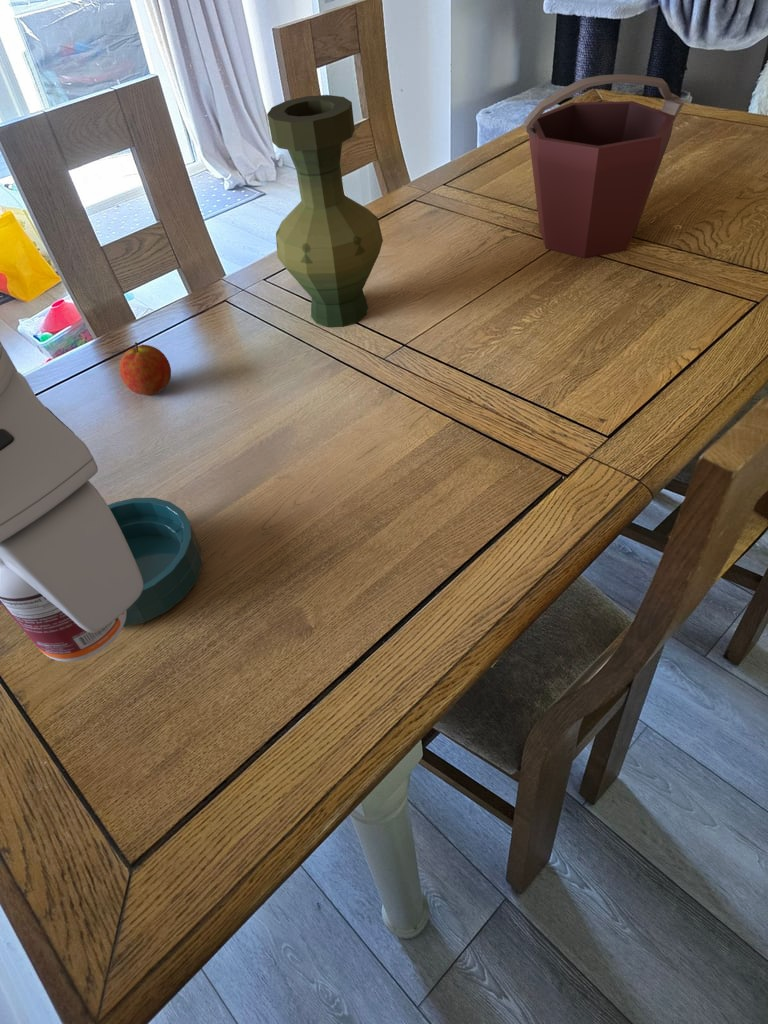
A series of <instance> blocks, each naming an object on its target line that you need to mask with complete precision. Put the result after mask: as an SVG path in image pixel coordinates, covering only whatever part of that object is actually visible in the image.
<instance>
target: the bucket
mask: <svg viewBox="0 0 768 1024" xmlns="http://www.w3.org/2000/svg"><path fill="white" fill-rule="evenodd" d="M619 83H622V84H625V83H626V84H637V85H644V86H650V87H655V88H657V89H658V91H659V93H660V95H661V96H662V97H663V99H664V102H663V106H662V108H660V109H657V108H654V107H651V106H649V105H645V104H642V103H640V102H637V101H634V100H626V101H625V100H624V101H623V100H622V101H619V100H617V101H585V102H584V101H581V102H579V101H578V102H570V103H567V104H565V105H562V106H559V107H557V108H554V109H551V110H549V109H550V108H553V107H555V106H556V105H557V104H559V103H561V102H562V101H564V100H566V99H568V98H569V97H572V96H573V95H576V94H578V93H580V92H581V91H584V90H586V89H588V88H593V87H596V86H601V85H609V84H610V85H611V84H619ZM684 105H685V103H684V101H683V100H682V98H681V97H680V96H678V95H676V94H675V93H673V92H672V91H671V90H670V88H669V84H668V83H667V82H666V81H665V79H663V78H661V77H654V76H648V75H640V74H626V73H623V74H622V73H613V74H603V75H601V74H600V75H595V76H589V77H583V78H581V79H579V80H577V81H574V82H573V83H570V84H569V85H566V86H564V87H563V88H561V89H560V90H557V91H556V92H554V93H553V94H551V95H550V96H547V97H546V98H544V99H543V100H541V101H539V102H538V103H537V104H536V106H534V107H533V109H532V110H531V111H530V113H529V114H528V115H527V116H526V118H525V119H524V120H523V124H524V129H525V131H526V133H527V134H528V141H529V150H530V158H531V159H530V160H531V167H532V176H533V183H534V184H533V185H534V192H535V194H534V195H535V200H536V210H537V219H538V227H539V232H540V236H541V238H542V241H543V244H544V247H545V249H546V250H550V251H555V252H559V253H563V254H566V255H570V256H574V257H580V258H583V259H588V258H593V257H597V256H603V255H608V254H613V253H619V252H623V251H624V252H625V251H626V250H627V249H628V247H629V246H630V244H631V241H632V239H633V238H634V235H635V233H636V231H637V228H638V226H639V224H640V221H641V218H642V215H643V212H644V210H645V207H646V205H647V202H648V199H649V196H650V193H651V191H652V188H653V185H654V183H655V179H656V177H657V175H658V172H659V169H660V167H661V164H662V161H663V159H664V155H665V154H666V150H667V147H668V145H669V142H670V140H671V137H672V132H673V127H674V122H675V120H676V118H677V117H678V115H679V114H680V112H681V110H682V109H683V106H684ZM547 110H548V111H547ZM545 111H546V112H545Z"/></svg>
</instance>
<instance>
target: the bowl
mask: <svg viewBox="0 0 768 1024" xmlns="http://www.w3.org/2000/svg"><path fill="white" fill-rule="evenodd" d="M107 505H108V507H109V508H110V510H111V512H112V514H113V515H114V517H115V519H116V521H117V523H118V525H119V527H120V529H121V531H122V533H123V535H124V537H125V539H126V541H127V544H128V546H129V548H130V550H131V552H132V554H133V557H134V559H135V561H136V563H137V566H138V568H139V570H140V573H141V575H142V579H143V590H142V593H141V595H140V596H139V598H138V599H137V600H136V601H135V602H134V603H133V604H132V605H131V606H130V607H129V608H128V609H127V610H126V612H127V613H126V620H125V623H124V625H123V628H127V627H131V626H134V625H139V624H143V623H146V622H148V621H151V620H153V619H155V618H157V617H160V616H161V615H163V614H165V613H166V612H169V610H171V609H172V608H173V607H175V606H176V605H177V604H179V603H180V602H181V601H182V600H183V599H184V598H185V597H187V595H188V593H189V592H190V591H191V589H192V588H193V587H194V586H195V584H196V583H197V581H198V579H199V575H200V573H201V570H202V567H203V550H202V547H201V545H200V543H199V542H200V541H199V540H198V538H197V535H196V532H195V530H194V528H193V526H192V523H191V521H190V519H189V518H188V516H187V514H186V513H185V511H184V510H183V509H182V508H180V507H179V506H177V505H176V504H174V503H173V502H172V501H168V500H166V499H161V498H157V497H132V498H128V499H124V500H118V501H114V502H112V503H109V504H107Z"/></svg>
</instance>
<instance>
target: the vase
mask: <svg viewBox="0 0 768 1024" xmlns="http://www.w3.org/2000/svg"><path fill="white" fill-rule="evenodd" d="M353 112H354V111H353V101H351V100H350V99H349V98H346V97H345V96H339V95H331V94H320V95H306V96H302V97H297V98H292V99H288V100H285V101H283V102H281V103H277V104H276V105H274V106H271V108H270V109H269V111H268V112H267V113H266V116H267V122H268V127H269V132H270V138H271V142H272V143H273V144H274V145H275V146H276V148H278V149H281V150H287V151H288V154H289V156H290V159H291V161H292V163H293V165H294V168H295V170H296V177H297V183H298V188H299V195H300V202H299V203H298V204H296V206H295V207H294V208H293V209H292V210H291V211H290V212H289V213H288V214H287V216H285V217H284V219H283V220H282V221H281V222H280V224H279V226H278V228H277V230H276V232H275V240H276V241H275V242H276V256H277V259H278V260H279V262H280V263H281V264H282V265H283V267H284V268H285V269H286V270H287V271H288V273H289V274H290V275H291V276H292V277H293V278H294V280H295V281H296V282H297V283H298V284H299V285H300V287H301V288H302V289H303V290H304V291H305V292H306V294H308V295H309V297H310V298H311V299H310V300H311V303H310V317H311V319H312V320H313V321H314V323H315V324H317V325H320V326H323V327H326V328H344V327H348V326H350V325H353V324H354V325H355V324H356V323H358V322H360V321H361V320H363V319H364V318H366V316H367V315H368V311H369V304H368V301H367V298H366V295H365V292H364V287H365V285H366V283H367V281H368V280H369V277H370V274H371V272H372V270H373V269H374V266H375V265H376V264H375V263H376V261H377V259H378V257H379V255H380V253H381V249H382V246H383V242H384V239H383V235H382V234H383V233H382V231H381V226H380V222H379V218H378V216H376V215H375V213H373V212H372V211H371V210H370V209H369V208H367V207H365V206H364V205H362V204H360V203H359V202H357V201H356V200H353V199H352V198H350V197H348V196H347V195H345V191H344V190H345V189H344V183H343V176H342V168H341V158H342V150H343V149H342V148H343V143H344V142H346V141H347V140H350V139H351V138H352V137H353V135H354V133H355V130H356V127H355V120H354V113H353Z"/></svg>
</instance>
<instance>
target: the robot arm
mask: <svg viewBox="0 0 768 1024" xmlns="http://www.w3.org/2000/svg"><path fill="white" fill-rule="evenodd" d="M98 471H99V468H98V464H97V463H96V460H95V458H94V456H93V454H92V452H91V451H90V449H89V447H88V446H87V445H86V443H85V442H84V441H83V440H82V439H81V438H80V437H79V436H78V435H77V434H75V432H74V431H73V430H72V429H71V428H70V427H69V426H67V424H65V423H64V422H63V421H61V420H60V419H59V417H58V416H57V415H55V414H54V413H53V412H52V410H50V409H49V408H48V407H47V406H46V405H45V404H43V403H42V402H41V400H40V399H39V398H38V397H37V395H36V394H35V392H34V391H33V389H32V387H31V386H30V383H29V382H28V380H27V379H26V378H25V376H24V375H23V374H22V373H20V372H19V371H18V370H17V368H16V366H15V364H14V363H13V360H12V359H11V357H10V356H9V353H8V352H7V350H6V349H5V347H4V345H3V343H2V341H0V558H1V559H2V560H3V562H4V564H5V565H6V566H7V567H9V568H10V569H11V570H12V571H14V572H15V573H16V574H17V575H18V576H20V577H21V578H22V579H23V580H24V581H26V582H27V583H28V584H29V585H31V586H32V587H33V588H34V589H35V590H37V591H38V592H39V593H40V594H42V595H43V596H44V597H45V598H46V599H48V600H49V601H50V602H51V603H52V604H54V605H55V606H56V607H57V608H59V609H60V610H61V611H62V612H63V613H65V614H66V615H67V616H68V617H69V618H71V619H72V620H73V621H74V622H75V623H76V624H77V625H78V626H79V627H81V628H82V629H83V630H85V631H87V632H90V633H96V632H98V631H100V630H102V629H103V628H104V627H106V626H107V625H109V624H110V623H111V622H113V621H114V620H115V619H116V618H118V617H119V616H120V615H121V614H122V613H124V612H125V611H126V610H127V609H128V608H129V607H130V606H131V605H132V604H133V603H134V602H135V601H136V600H137V599H138V598H139V596H140V595H141V593H142V590H143V579H142V575H141V573H140V570H139V568H138V566H137V563H136V561H135V559H134V557H133V554H132V552H131V550H130V548H129V546H128V544H127V541H126V539H125V537H124V535H123V533H122V531H121V529H120V527H119V525H118V523H117V521H116V519H115V517H114V515H113V514H112V512H111V510H110V508H109V507H108V505H109V504H108V503H107V501H106V500H105V498H104V497H103V496H102V495H101V493H100V492H99V490H98V489H97V488H96V487H95V485H94V484H92V482H90V480H91V479H92V478H93V477H94V476H95V475H96V474H97V473H98Z"/></svg>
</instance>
